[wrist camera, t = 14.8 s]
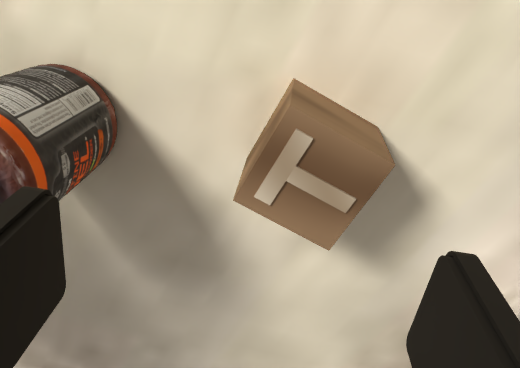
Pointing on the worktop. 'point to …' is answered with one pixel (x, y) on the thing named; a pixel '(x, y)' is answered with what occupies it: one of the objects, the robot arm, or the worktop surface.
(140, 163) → the worktop surface
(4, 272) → the robot arm
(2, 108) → the supplement bottle
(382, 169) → the letter t block
